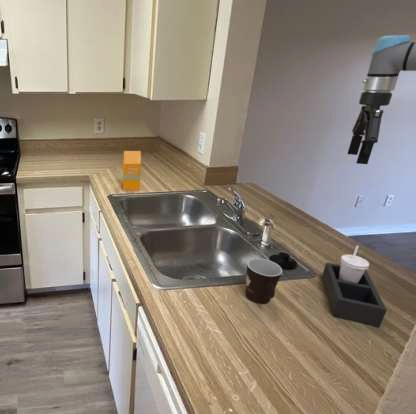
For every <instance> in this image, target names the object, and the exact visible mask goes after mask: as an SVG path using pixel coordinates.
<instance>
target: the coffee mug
mask: <svg viewBox="0 0 416 414" xmlns="http://www.w3.org/2000/svg"><path fill="white" fill-rule="evenodd" d="M282 274H283V269H282V267H281V266H280V265H279V264H278V263H276V262H274V261H272V260H269V259H265V258H260V257H259V258H257V257H255V258H250V259H249V260H247V263H246V274H245V275H246V276H245V293H244V294H245V297H246V298H247V299H248V300H249V301H250V302H251V303H255V304H258V305H267V304H269V303H270V301H271V300H272V299H273V298H275V294H276V287H277V285H278V283H279V281H280V278H281V276H282Z"/></svg>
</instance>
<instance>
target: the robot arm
mask: <svg viewBox="0 0 416 414" xmlns="http://www.w3.org/2000/svg"><path fill="white" fill-rule="evenodd" d="M371 55H372V56H371V59H370V64H369V66H368V71H367V74H366V78H365V79H363V80H362V84H363V88H362V90H363V92H361V94H360V98H359V100H358V104H359V105H362V106H361V109H360V111H359V114H358V116H357V118H356V121H355V123H354V125H353V128H352V130H351V133H352V137H351V140H350V143H349V147H348V150H347V155H353V156H357V160H356V162H355V163H356V164H357V165H358V164H359V165H368V164H369V161H370V158H371V154H372V151H373V148H374V145H375V144H377V143H378V142H379V135H380V130H381V125H382V124H381V123H382V117H383V114H384V109H381V107H385V106H386V107H387V106H389V105H390V102H391V100H392V97H393V93H392V92H393V91H395V88H396V85H397V82H398V79H399V74H400V72H408V71H409V72H416V41H415V42H413V41H411V35H408V34H398V35H396V34H395V35H393V34H392V35H384V36H381V37H379V38H378V40H377V41H376V44H375V47H374V50H373V52H372V54H371ZM363 137H364V138H363Z"/></svg>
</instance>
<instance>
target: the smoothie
mask: <svg viewBox="0 0 416 414" xmlns="http://www.w3.org/2000/svg"><path fill="white" fill-rule="evenodd" d="M359 247H360V245H355V249H354V251H353V253H352V254H343V255H341V258H340V259H339V260H340V265H341V267H340V273H339V279H338V280H343V281H348V282H353V283H358V282H359V280H360V278H361V277H362V275H363V273H364V272H365V270H366V271H367V270H368V269H369V267H370V262H369V261H368V260H366V259H365V258H364V257H361V256H358V255H357V254H358V249H359Z"/></svg>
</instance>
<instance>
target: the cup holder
mask: <svg viewBox="0 0 416 414" xmlns="http://www.w3.org/2000/svg"><path fill="white" fill-rule="evenodd" d="M340 267H341V264H337V263H336V264H335V263H330V262H325V265H324V268H323V272H322V275H321V281H322V285H323V288H324V292H325V295H326V298H327V299H326V300H327V302H328V306H329V309H330V313H331V317H333V318H338V319H342V320H345V321H349V322H350V321H351V322H354V323H358V324H363V325H367V326H371V327H376V328H380V327H381V324H382V323H383V320H384V317H385V315H386V313H387V311H388V309H387V308H386V305H385V304H384V302H383V299H382V297H381V296H380V294H379V292H378V290H377V288H376V286H375V284H374V282H373V280H372V278H371V277H370V275H369V273H368V270H367V269H366V270H365V272H364V273H363V275H362V277H361V278H360V280H359V282H358V283H353V282H348V281H343V280H338V279H339V273H340Z"/></svg>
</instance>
